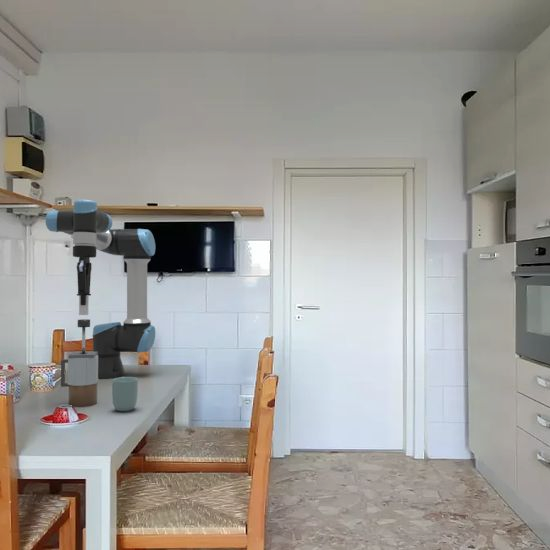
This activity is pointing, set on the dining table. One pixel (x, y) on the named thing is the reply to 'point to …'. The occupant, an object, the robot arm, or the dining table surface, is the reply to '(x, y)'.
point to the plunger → (83, 331)
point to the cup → (124, 393)
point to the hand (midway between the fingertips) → (83, 314)
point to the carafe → (81, 378)
